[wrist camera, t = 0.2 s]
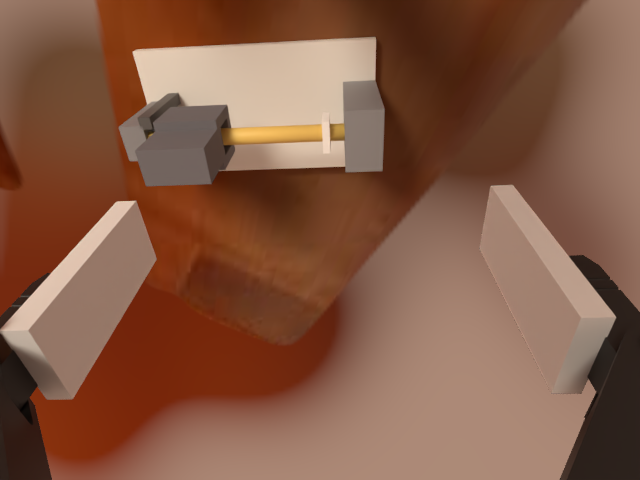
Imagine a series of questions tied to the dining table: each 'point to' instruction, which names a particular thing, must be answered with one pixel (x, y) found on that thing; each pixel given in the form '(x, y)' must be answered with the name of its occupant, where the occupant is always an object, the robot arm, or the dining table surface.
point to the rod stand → (273, 100)
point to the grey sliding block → (186, 146)
